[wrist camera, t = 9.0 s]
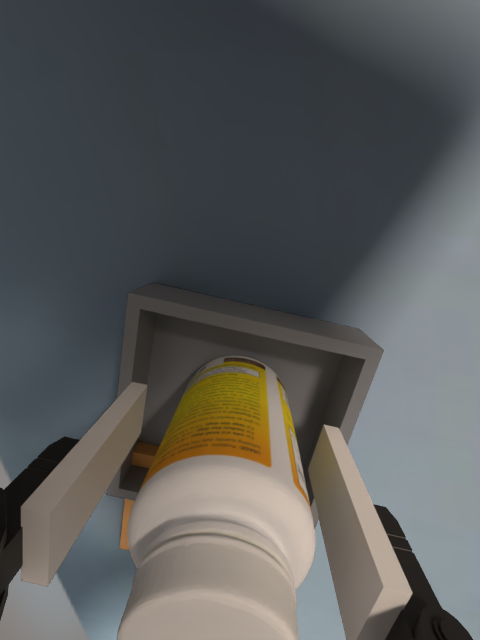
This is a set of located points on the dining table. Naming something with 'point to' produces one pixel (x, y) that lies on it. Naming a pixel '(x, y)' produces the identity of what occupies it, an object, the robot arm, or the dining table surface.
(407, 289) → the dining table surface
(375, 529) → the robot arm
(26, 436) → the dining table surface
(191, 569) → the supplement bottle
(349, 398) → the parts tray
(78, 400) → the dining table surface
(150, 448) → the fuse puller tool
